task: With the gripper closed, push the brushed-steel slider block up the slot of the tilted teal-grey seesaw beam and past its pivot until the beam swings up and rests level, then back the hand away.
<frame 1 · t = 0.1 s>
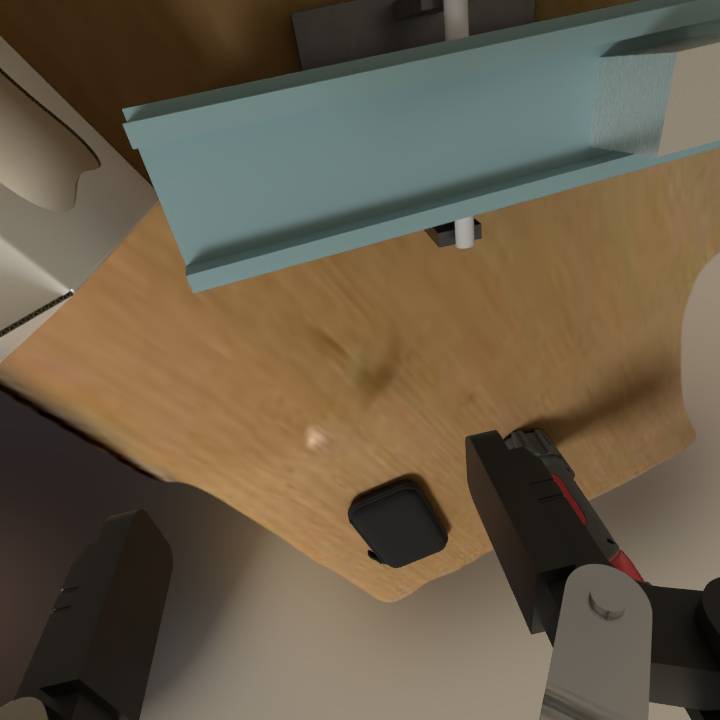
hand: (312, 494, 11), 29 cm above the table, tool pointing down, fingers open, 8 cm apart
steel slider: (637, 93, 27), point 8 cm above the table, tilted 9°, touching seesaw beam
seesaw beam: (447, 130, 27), point 7 cm above the table, hinge at -9.1°, touching steel slider
beam stand: (421, 118, 34), on the table
carrying case or bag: (393, 516, 59), on the table
flashlight: (513, 444, 54), on the table
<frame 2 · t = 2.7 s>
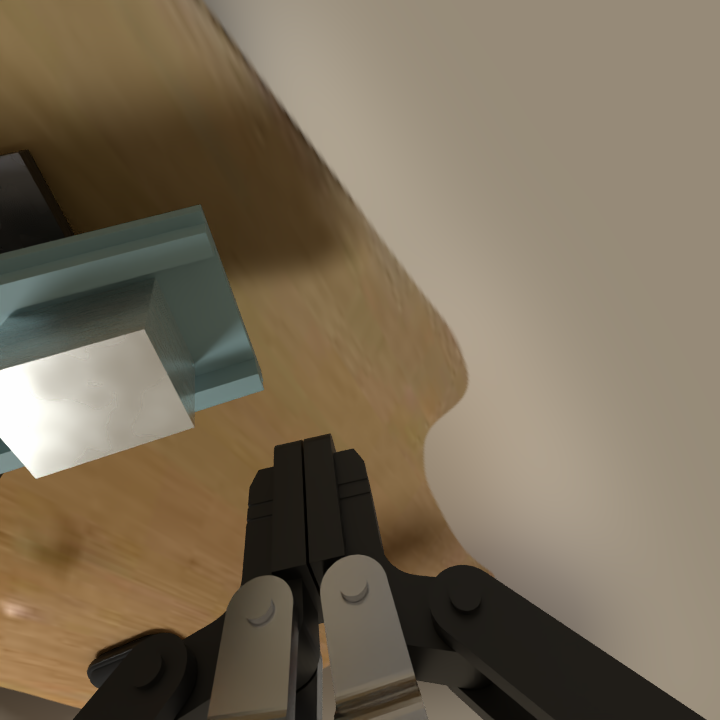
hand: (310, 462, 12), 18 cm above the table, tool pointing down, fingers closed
steel slider: (109, 342, 20), point 8 cm above the table, tilted 9°, touching seesaw beam
carrying case or bag: (160, 662, 53), on the table
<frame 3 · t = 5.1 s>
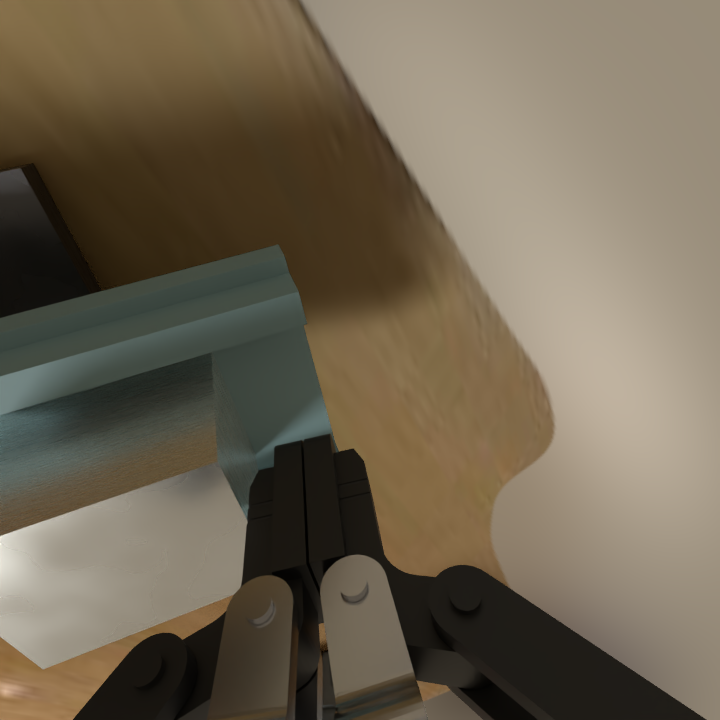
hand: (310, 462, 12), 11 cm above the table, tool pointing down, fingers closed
steel slider: (143, 436, 14), point 8 cm above the table, tilted 9°, touching gripper
flashlight: (303, 664, 42), on the table
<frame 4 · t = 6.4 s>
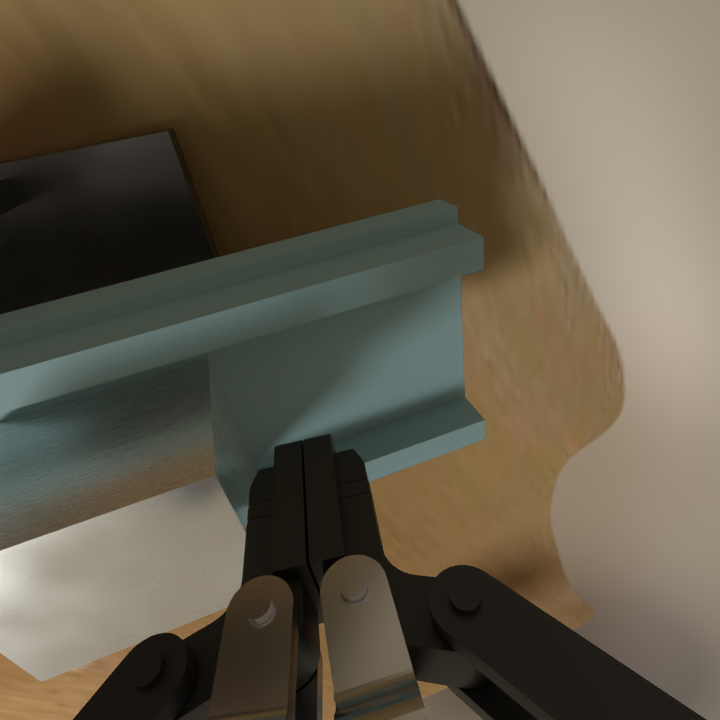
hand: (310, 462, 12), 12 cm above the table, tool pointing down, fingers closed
steel slider: (141, 444, 14), point 9 cm above the table, tilted 9°, touching gripper, seesaw beam
beam stand: (69, 331, 22), on the table
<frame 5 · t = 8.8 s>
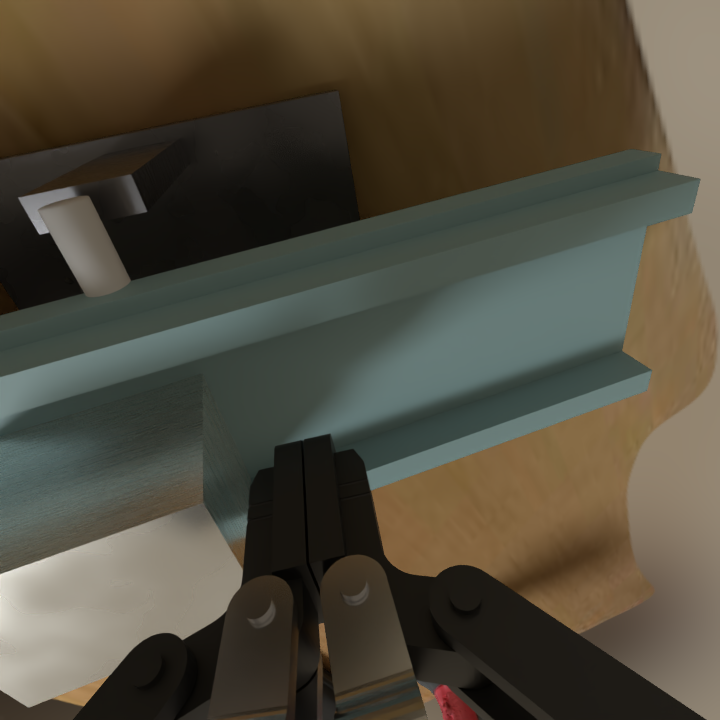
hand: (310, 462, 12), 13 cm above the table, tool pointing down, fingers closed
steel slider: (134, 460, 14), point 10 cm above the table, tilted 8°, touching gripper, seesaw beam
seesaw beam: (175, 381, 16), point 7 cm above the table, hinge at -8.4°, touching steel slider
beam stand: (208, 294, 22), on the table
carrying case or bag: (293, 684, 48), on the table
flashlight: (424, 615, 44), on the table
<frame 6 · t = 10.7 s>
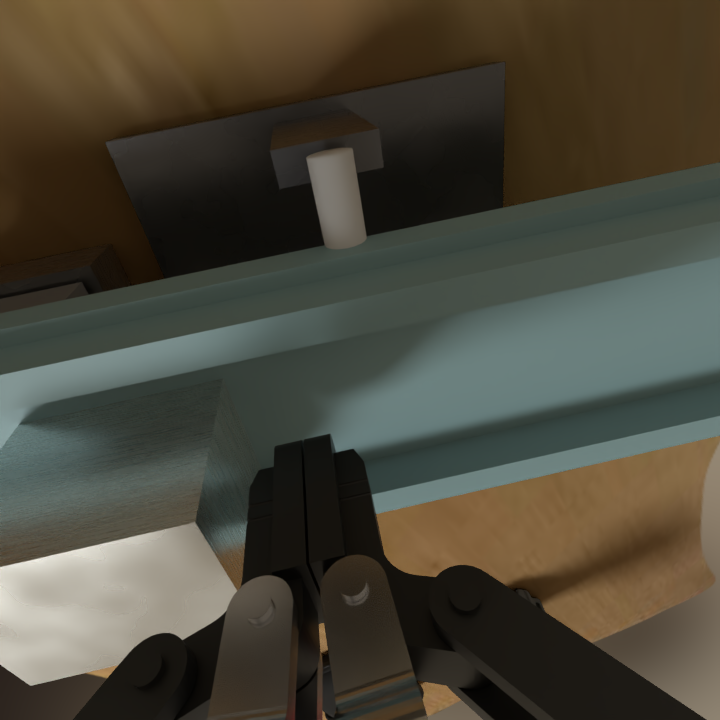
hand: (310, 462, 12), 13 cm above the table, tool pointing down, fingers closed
steel slider: (154, 455, 14), point 10 cm above the table, touching gripper, seesaw beam
seesaw beam: (362, 343, 17), point 7 cm above the table, hinge at 0.2°, touching steel slider
beam stand: (340, 269, 23), on the table
carrying case or bag: (355, 671, 48), on the table
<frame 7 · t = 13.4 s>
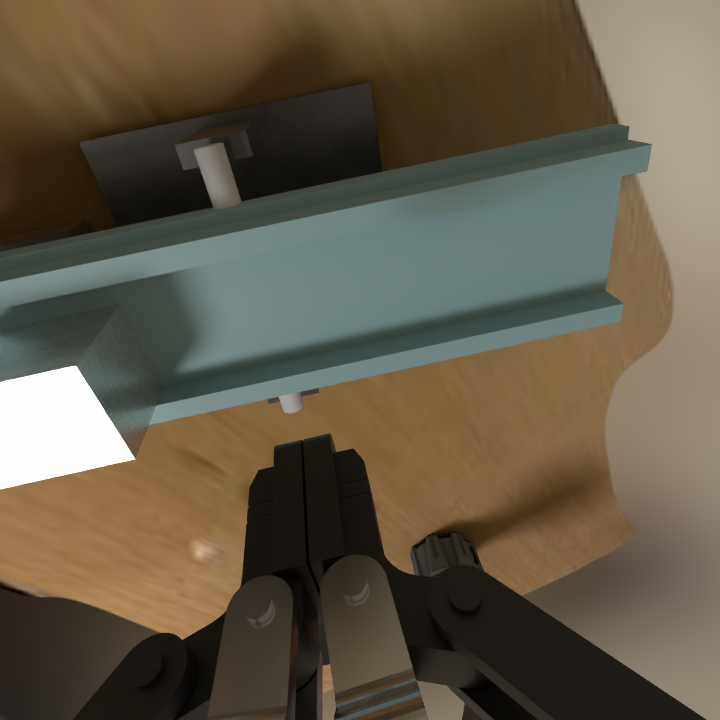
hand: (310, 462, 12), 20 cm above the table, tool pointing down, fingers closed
steel slider: (80, 361, 21), point 10 cm above the table, touching seesaw beam
seesaw beam: (259, 285, 23), point 7 cm above the table, hinge at 0.2°, touching steel slider
beam stand: (265, 240, 29), on the table
carrying case or bag: (317, 611, 54), on the table
flashlight: (430, 546, 50), on the table
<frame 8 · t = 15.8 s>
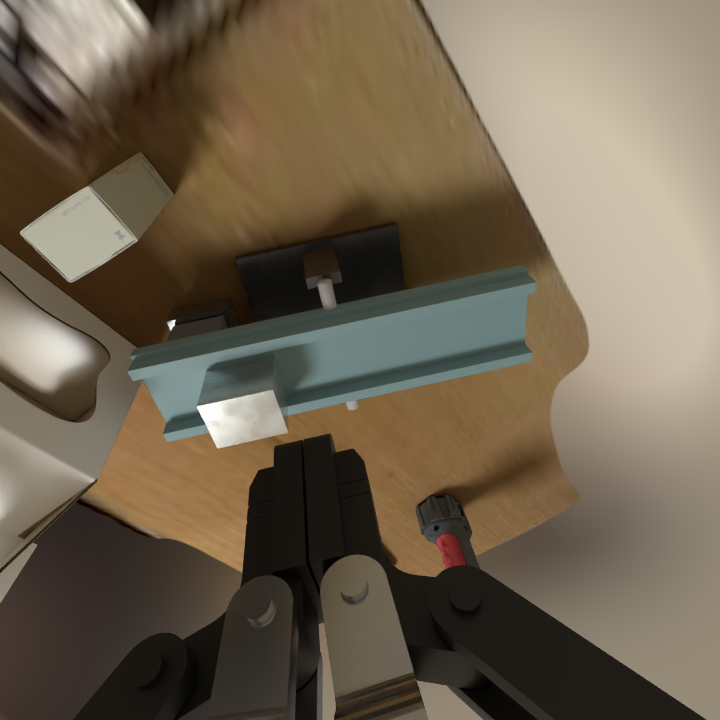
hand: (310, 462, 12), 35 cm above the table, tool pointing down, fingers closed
steel slider: (248, 383, 40), point 10 cm above the table, touching seesaw beam
seesaw beam: (338, 340, 42), point 7 cm above the table, hinge at 0.2°, touching steel slider
gable box: (19, 326, 45), on the table
beam stand: (331, 306, 48), on the table
skincare box: (131, 192, 40), on the table
flashlight: (430, 505, 69), on the table
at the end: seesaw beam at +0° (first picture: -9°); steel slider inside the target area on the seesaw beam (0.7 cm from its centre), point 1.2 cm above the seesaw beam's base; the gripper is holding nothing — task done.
